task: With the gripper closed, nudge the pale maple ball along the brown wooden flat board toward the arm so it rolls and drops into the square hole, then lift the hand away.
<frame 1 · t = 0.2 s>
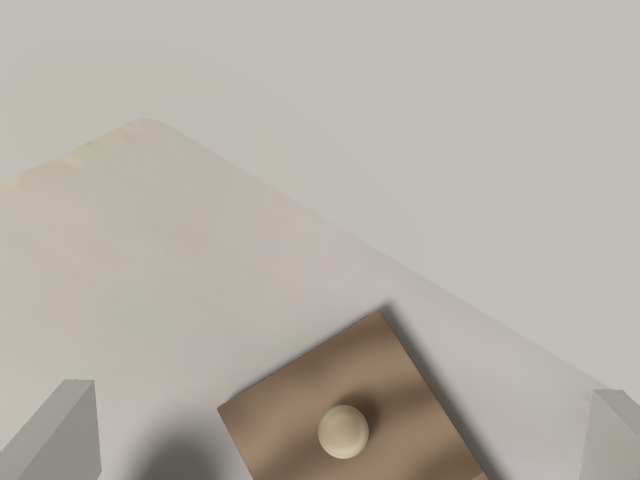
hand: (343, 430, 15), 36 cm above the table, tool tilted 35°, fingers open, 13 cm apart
ball: (343, 431, 44), point 4 cm above the table, touching brown wooden flat board
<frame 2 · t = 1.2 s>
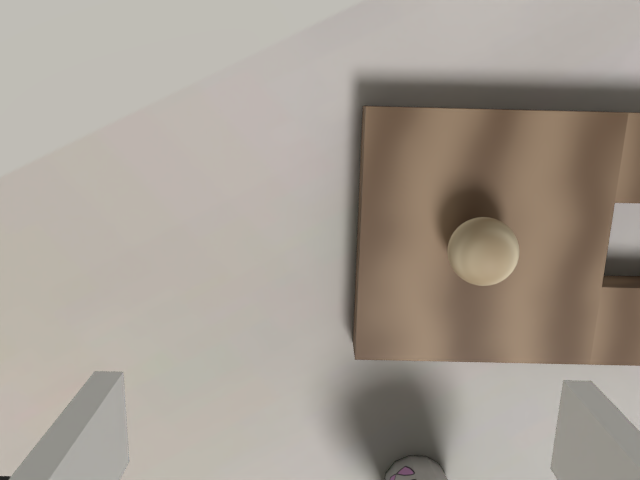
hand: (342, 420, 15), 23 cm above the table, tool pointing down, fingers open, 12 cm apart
ball: (482, 251, 33), point 4 cm above the table, touching brown wooden flat board
cup: (414, 479, 42), on the table
brown wooden flat board: (539, 234, 37), on the table
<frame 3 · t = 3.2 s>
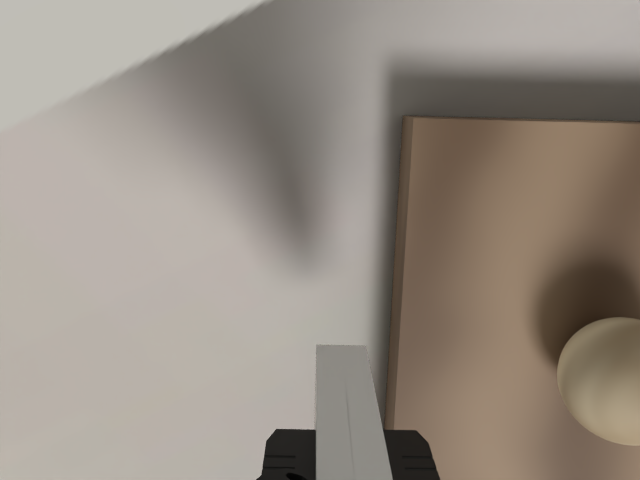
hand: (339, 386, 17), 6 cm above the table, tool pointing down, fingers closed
ball: (624, 379, 18), point 4 cm above the table, touching brown wooden flat board
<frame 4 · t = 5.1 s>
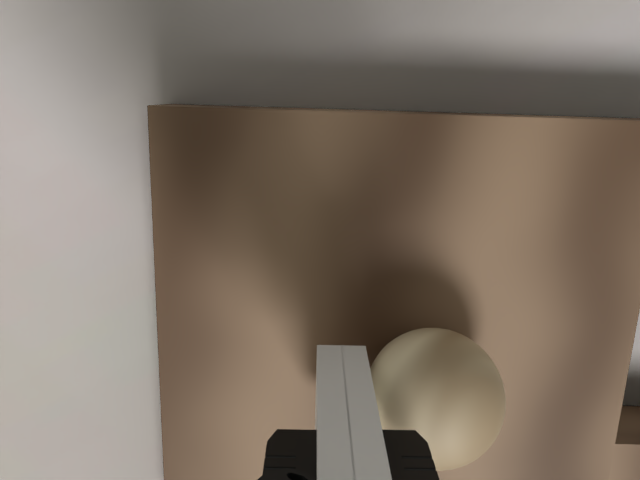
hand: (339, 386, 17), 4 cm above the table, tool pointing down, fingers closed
ball: (433, 397, 17), point 4 cm above the table, tilted 37°, touching brown wooden flat board, gripper
brown wooden flat board: (503, 337, 21), on the table
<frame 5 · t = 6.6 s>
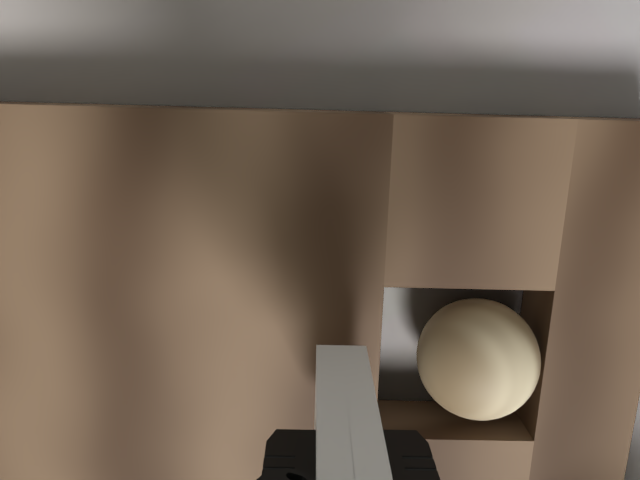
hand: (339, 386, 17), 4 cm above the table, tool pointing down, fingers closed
ball: (477, 358, 19), point 2 cm above the table, tilted 41°
brown wooden flat board: (282, 332, 21), on the table
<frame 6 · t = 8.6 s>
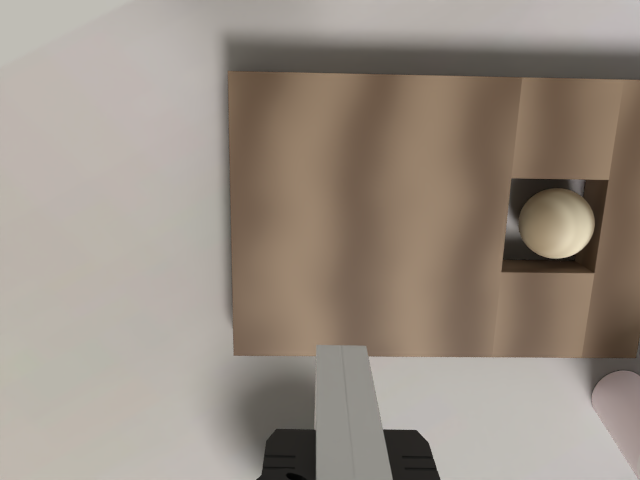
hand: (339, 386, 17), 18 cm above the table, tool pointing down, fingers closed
ball: (555, 223, 32), point 2 cm above the table, tilted 51°
smoothie: (617, 394, 38), on the table
brown wooden flat board: (437, 215, 34), on the table
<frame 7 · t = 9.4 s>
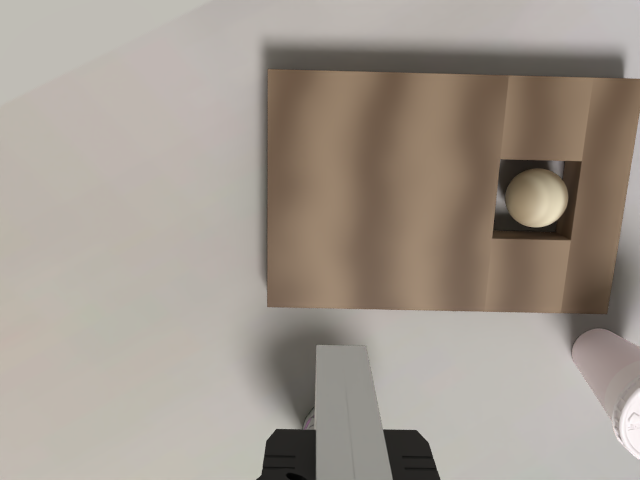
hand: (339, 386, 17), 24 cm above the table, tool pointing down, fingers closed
ball: (536, 197, 39), point 2 cm above the table, tilted 54°
smoothie: (594, 349, 44), on the table
brown wooden flat board: (439, 192, 40), on the table
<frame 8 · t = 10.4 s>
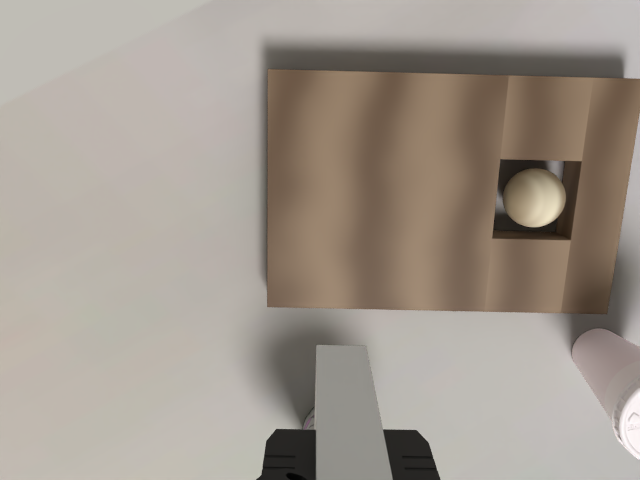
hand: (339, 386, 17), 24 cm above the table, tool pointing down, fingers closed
ball: (533, 197, 39), point 2 cm above the table, tilted 59°
smoothie: (594, 349, 44), on the table
brown wooden flat board: (439, 192, 40), on the table
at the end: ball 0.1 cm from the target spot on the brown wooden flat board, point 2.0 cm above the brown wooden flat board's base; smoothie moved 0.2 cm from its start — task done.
